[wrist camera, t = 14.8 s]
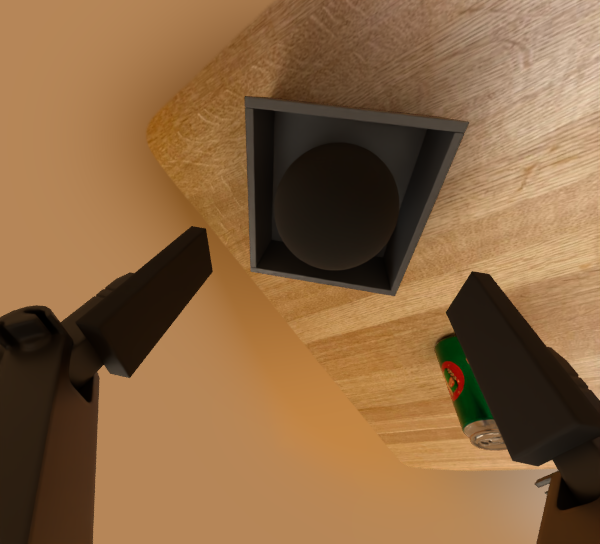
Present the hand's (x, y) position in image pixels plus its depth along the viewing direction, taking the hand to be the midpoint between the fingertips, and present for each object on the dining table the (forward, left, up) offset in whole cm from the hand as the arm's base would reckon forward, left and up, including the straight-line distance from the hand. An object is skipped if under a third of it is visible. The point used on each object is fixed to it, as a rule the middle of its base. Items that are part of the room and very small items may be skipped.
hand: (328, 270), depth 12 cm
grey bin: (0, 0, -15) cm, 15 cm away
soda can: (+19, +20, -15) cm, 32 cm away
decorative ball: (0, 0, -15) cm, 15 cm away
